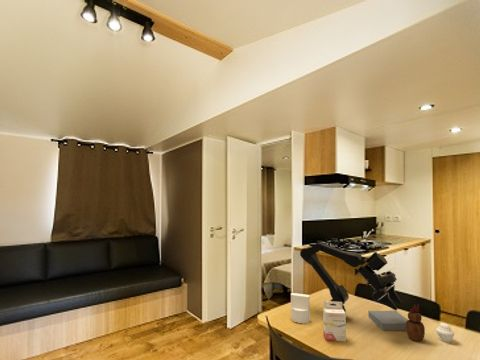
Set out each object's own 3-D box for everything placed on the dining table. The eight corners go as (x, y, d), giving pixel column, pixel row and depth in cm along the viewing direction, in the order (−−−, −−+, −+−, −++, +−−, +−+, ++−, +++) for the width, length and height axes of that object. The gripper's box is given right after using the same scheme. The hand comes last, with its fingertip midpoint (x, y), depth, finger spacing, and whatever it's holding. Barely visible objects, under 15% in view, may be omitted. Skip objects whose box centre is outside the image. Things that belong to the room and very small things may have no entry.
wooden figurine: (422, 337, 119) (421, 301, 120) (426, 344, 114) (425, 306, 115) (404, 334, 121) (403, 299, 122) (408, 341, 116) (406, 304, 117)
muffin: (438, 335, 121) (437, 318, 121) (455, 340, 117) (455, 323, 117) (435, 340, 117) (434, 323, 117) (453, 345, 112) (452, 328, 113)
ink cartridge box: (325, 340, 117) (325, 305, 118) (323, 334, 122) (322, 300, 123) (346, 341, 116) (345, 305, 117) (343, 335, 121) (342, 301, 122)
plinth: (382, 330, 126) (382, 323, 126) (368, 316, 140) (368, 310, 140) (413, 330, 126) (413, 323, 126) (396, 316, 140) (396, 310, 140)
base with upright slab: (289, 322, 135) (289, 296, 135) (293, 314, 143) (292, 291, 144) (308, 325, 131) (307, 299, 132) (311, 317, 139) (310, 293, 140)
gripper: (378, 270, 119) (409, 302, 112) (388, 262, 134) (416, 290, 126) (360, 285, 124) (389, 317, 116) (371, 276, 138) (397, 304, 131)
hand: (398, 306), depth 122 cm, fingers open, 9 cm apart
